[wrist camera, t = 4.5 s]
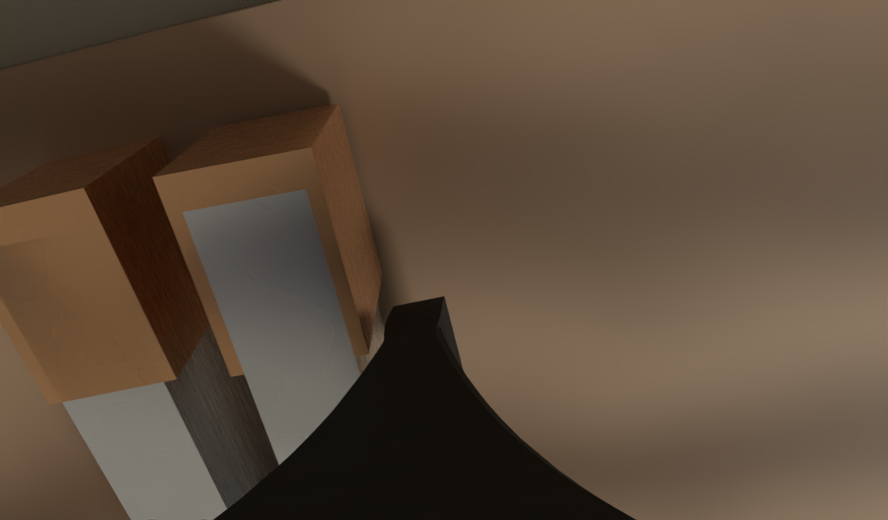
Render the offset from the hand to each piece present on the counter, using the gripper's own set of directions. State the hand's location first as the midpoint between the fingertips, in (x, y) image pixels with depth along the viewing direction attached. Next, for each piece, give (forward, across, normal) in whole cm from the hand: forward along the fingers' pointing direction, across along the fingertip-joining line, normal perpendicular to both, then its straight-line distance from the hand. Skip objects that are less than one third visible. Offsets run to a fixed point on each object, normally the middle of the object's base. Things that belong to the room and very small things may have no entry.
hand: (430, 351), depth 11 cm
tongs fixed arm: (+1, +3, +4) cm, 6 cm away
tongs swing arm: (+1, +2, +2) cm, 3 cm away
